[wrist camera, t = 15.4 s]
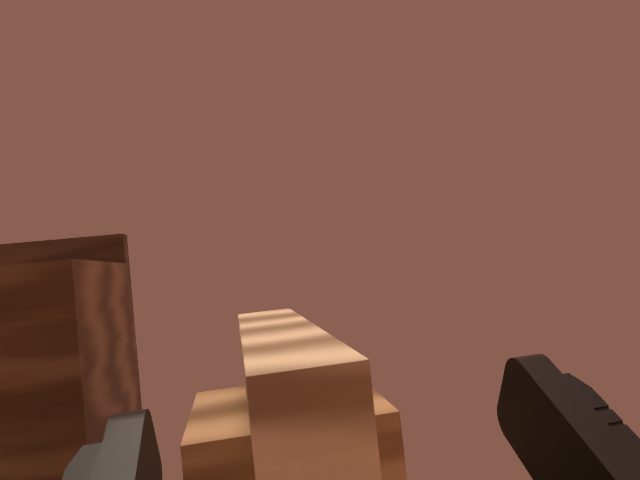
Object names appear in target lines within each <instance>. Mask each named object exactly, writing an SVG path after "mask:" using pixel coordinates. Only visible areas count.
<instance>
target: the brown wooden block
mask: <svg viewBox="0 0 640 480" xmlns="http://www.w3.org/2000/svg"><path fill="white" fill-rule="evenodd" d="M238 317H239V328H240V339H241V349H242V360H243V370H244V379H245V388H246V397H247V407H248V416H249V425H250V435H251V444H252V453H253V462H254V472H255V480H382V476H381V467H380V458H379V448H378V439H377V430H376V420H375V411H374V402H373V392H372V383H371V374H370V364H369V360H368V359H367V358H366V357H364V356H362V355H361V354H360V353H357V352H356V351H355V350H353V349H352V348H350V347H349V346H347V345H346V344H344V343H342V342H340V341H339V340H338V339H336V338H334V337H333V336H331V335H330V334H328V333H327V332H325V331H324V330H322V329H321V328H319V327H317V326H316V325H314V324H313V323H311V322H310V321H308V320H307V319H305V318H303V317H302V316H300V315H299V314H297V313H296V312H294V311H293V310H291V309H289V308H288V309H280V310H272V311H263V312H254V313H246V314H238Z"/></svg>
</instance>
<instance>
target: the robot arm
mask: <svg viewBox="0 0 640 480" xmlns="http://www.w3.org/2000/svg"><path fill="white" fill-rule="evenodd" d="M497 415H498V421H499V424H500V427H501V429H502V432H503V434H504V435H505V437H506V439H507V440H508V442H509V443H510V445H511V446H512V448H513V449H514V451H515V452H516V454H517V455H518V457H519V459H520V460H521V462H522V463H523V465H524V466H525V468H526V469H527V471H528V472H529V474H530V475H531V477H532V479H533V480H640V439H639V437H638V436H637V435H636V434H635V433H634V432H633V431H632V430H631V429H630V428H629V427H628V426H627V425H624V424H623V422H622V420H621V418H620V417H619V416H618V415H617V414H616V413H615V412H614V411H613V410H612V409H611V410H610V409H609V407H608V405H607V404H606V403H605V401H604V400H603V399H602V398H601V397H600V396H599V395H598V394H597V393H596V392H595V391H594V390H593V389H592V388H591V387H589V386H588V385H587V384H585V383H583V382H582V381H580V380H579V379H577V378H576V377H574V376H572V375H571V374H569V373H567V374H562V373H561V372H560V371H559V370H558V368H557V367H556V366H555V365H554V364H553V363H552V362H551V361H550V360H549V359H548V358H547V357H546V356H545V355H543V354H536V355H529V356H522V357H515V358H510V359H508V361H507V362H506V365H505V370H504V375H503V381H502V385H501V391H500V396H499V400H498V406H497ZM62 480H162V466H161V459H160V454H159V450H158V445H157V441H156V436H155V432H154V427H153V423H152V418H151V413H150V411H149V409H144V410H137V411H130V412H123V413H116V414H111V415H110V416H109V418H108V421H107V425H106V430H105V434H104V438H103V442H102V443H96V444H90V445H83V446H82V447H81V449H80V450H79V451H78V453H77V454H76V455H75V457H74V458H73V459H72V461H71V462H70V463H69V465H68V466H67V467H66V469H65V471H64V475H63V478H62Z"/></svg>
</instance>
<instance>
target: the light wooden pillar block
mask: <svg viewBox="0 0 640 480" xmlns="http://www.w3.org/2000/svg"><path fill="white" fill-rule="evenodd" d="M372 392H373V402H374V411H375V420H376V430H377V439H378V448H379V458H380V467H381V476H382V480H407V476H406V467H405V458H404V448H403V439H402V431H401V421H400V413H399V411H398V410H397V409H396V408H395V407H394V406H392V405H391V404H390V403H389V402H388V401H387V400H385V399H384V398H383V397H382V396H381V395H379V394H378V393H377V392H376V391H375V390H373V389H372ZM181 458H182V470H183V480H255V472H254V462H253V453H252V444H251V435H250V425H249V416H248V407H247V397H246V388H245V386H241V387H234V388H228V389H220V390H213V391H206V392H198V393H197V395H196V398H195V401H194V404H193V407H192V411H191V414H190V417H189V420H188V424H187V427H186V430H185V433H184V436H183V439H182V443H181Z"/></svg>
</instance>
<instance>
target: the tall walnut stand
mask: <svg viewBox="0 0 640 480" xmlns="http://www.w3.org/2000/svg"><path fill="white" fill-rule="evenodd" d="M137 410H142V406H141V394H140V382H139V371H138V359H137V348H136V336H135V325H134V314H133V303H132V291H131V279H130V268H129V256H128V245H127V235H125V234H114V235H104V236H92V237H80V238H69V239H58V240H46V241H36V242H24V243H12V244H1V245H0V480H62V478H63V475H64V471H65V469H66V467H67V466H68V465H69V463H70V462H71V461H72V459H73V458H74V457H75V455H76V454H77V453H78V451H79V450H80V449H81V447H82V446H83V445H90V444H96V443H102V442H103V438H104V434H105V430H106V425H107V421H108V418H109V416H110V415H111V414H116V413H123V412H130V411H137Z"/></svg>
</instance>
